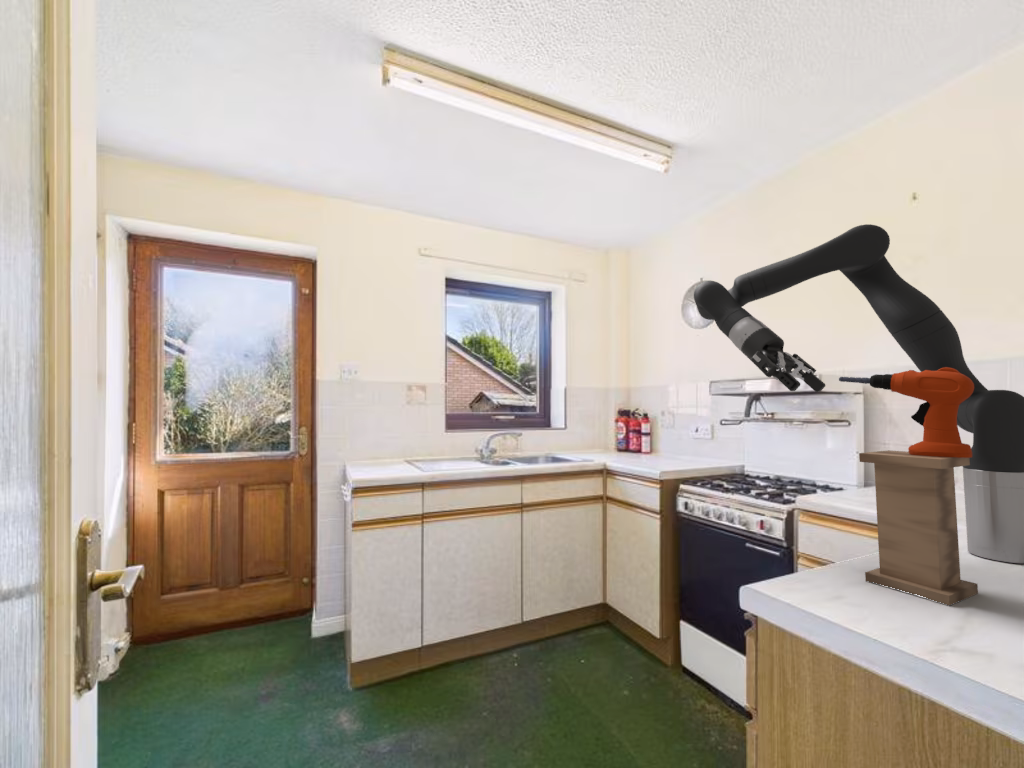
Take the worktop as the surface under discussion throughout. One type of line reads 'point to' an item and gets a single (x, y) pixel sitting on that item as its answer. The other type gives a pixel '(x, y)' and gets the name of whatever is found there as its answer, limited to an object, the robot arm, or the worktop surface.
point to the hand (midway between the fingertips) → (809, 388)
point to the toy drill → (931, 406)
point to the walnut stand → (918, 525)
